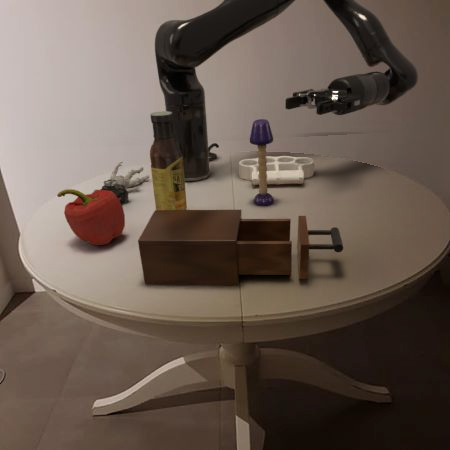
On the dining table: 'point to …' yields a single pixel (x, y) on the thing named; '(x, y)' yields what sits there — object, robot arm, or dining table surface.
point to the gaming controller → (117, 191)
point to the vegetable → (95, 216)
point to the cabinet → (191, 247)
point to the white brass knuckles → (278, 169)
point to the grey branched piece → (126, 179)
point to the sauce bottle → (166, 165)
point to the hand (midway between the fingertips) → (301, 106)
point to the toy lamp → (262, 158)
